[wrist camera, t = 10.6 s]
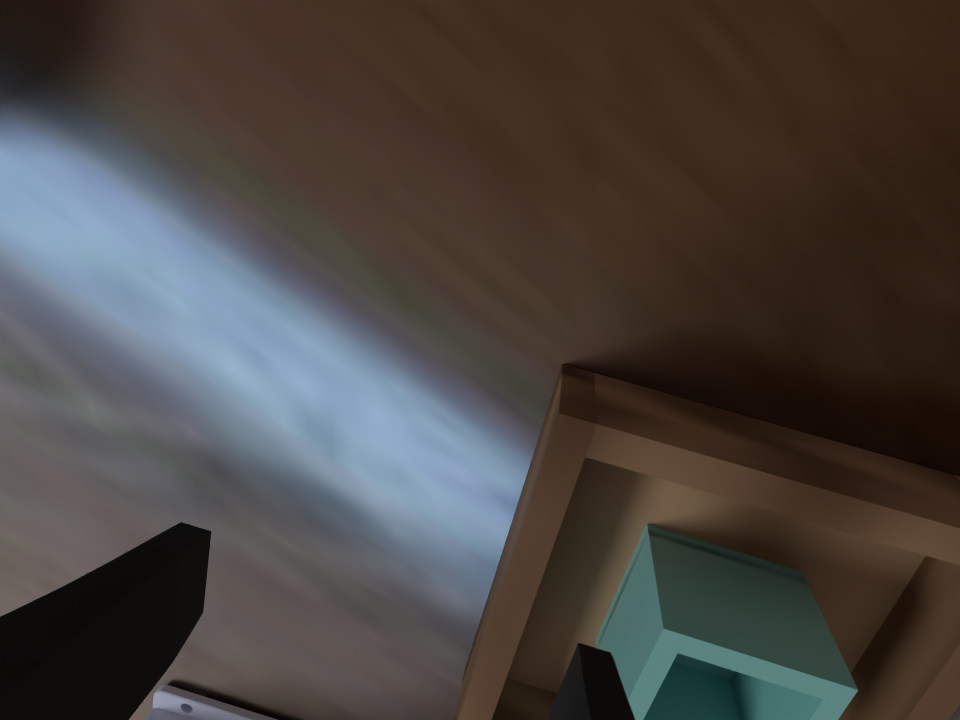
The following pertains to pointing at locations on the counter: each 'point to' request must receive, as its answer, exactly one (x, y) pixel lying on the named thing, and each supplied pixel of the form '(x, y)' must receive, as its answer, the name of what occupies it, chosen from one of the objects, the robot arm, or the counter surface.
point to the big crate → (720, 543)
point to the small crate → (720, 637)
